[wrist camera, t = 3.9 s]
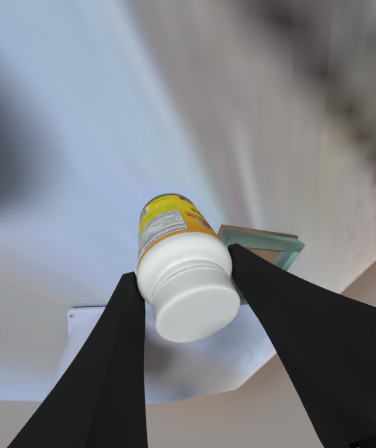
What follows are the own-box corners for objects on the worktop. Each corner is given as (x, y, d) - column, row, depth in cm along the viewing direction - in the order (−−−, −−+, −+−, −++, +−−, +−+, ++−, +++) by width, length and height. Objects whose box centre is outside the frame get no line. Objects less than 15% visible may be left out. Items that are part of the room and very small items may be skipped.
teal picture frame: (257, 294, 27) (264, 304, 25) (191, 296, 23) (195, 308, 21) (296, 235, 22) (308, 243, 20) (221, 224, 18) (229, 232, 16)
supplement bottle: (201, 229, 17) (260, 322, 8) (154, 248, 17) (164, 366, 8) (186, 181, 14) (253, 250, 6) (129, 203, 14) (104, 312, 5)
